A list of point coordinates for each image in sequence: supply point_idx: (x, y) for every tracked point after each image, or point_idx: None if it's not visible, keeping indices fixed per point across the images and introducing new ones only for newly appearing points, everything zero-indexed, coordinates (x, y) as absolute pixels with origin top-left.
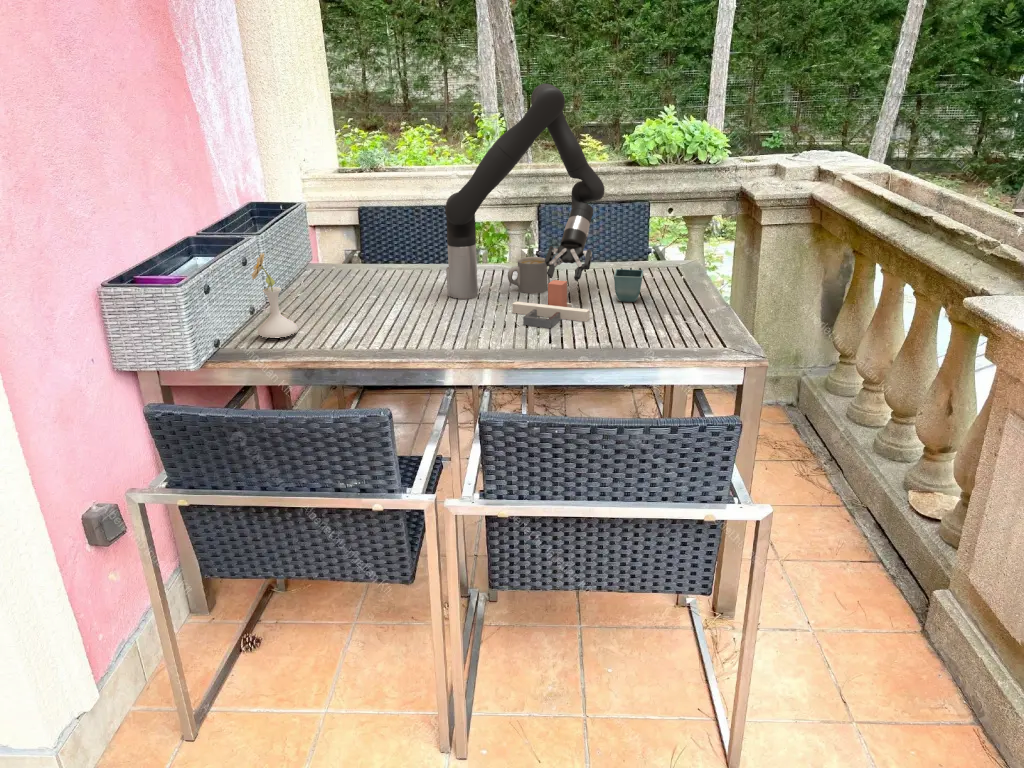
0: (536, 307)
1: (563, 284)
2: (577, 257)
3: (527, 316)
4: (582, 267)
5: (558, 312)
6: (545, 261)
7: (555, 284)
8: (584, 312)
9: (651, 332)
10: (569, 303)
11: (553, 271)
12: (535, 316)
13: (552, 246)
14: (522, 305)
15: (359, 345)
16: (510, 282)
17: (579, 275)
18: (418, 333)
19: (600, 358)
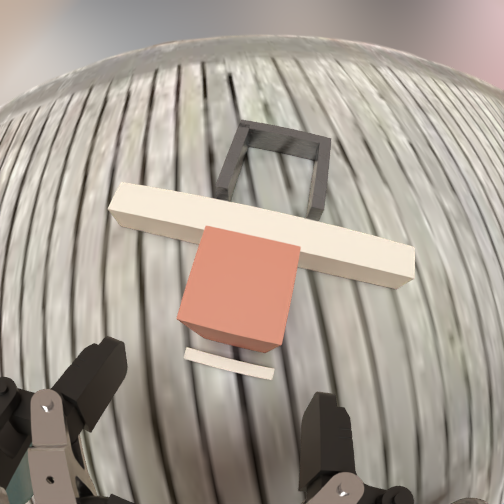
0: (318, 224)
1: (197, 253)
2: (36, 470)
3: (320, 141)
4: (40, 392)
5: (222, 183)
6: (403, 492)
7: (248, 235)
8: (128, 183)
9: (19, 164)
10: (191, 354)
11: (304, 458)
12: (308, 206)
13: None
14: (376, 237)
15: (489, 103)
16: (462, 499)
17: (83, 351)
18: (475, 129)
19: (142, 52)
